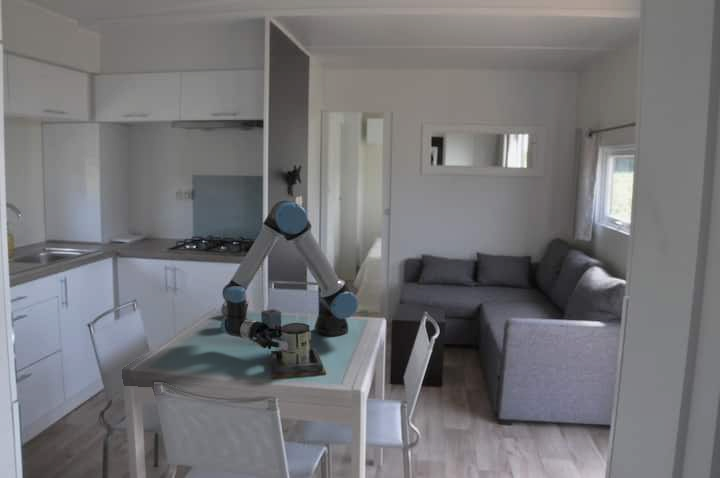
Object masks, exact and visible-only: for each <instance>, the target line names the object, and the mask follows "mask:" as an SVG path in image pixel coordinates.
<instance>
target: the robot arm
mask: <svg viewBox="0 0 720 478" xmlns="http://www.w3.org/2000/svg"><path fill="white" fill-rule="evenodd" d="M312 226H313V225H312V224H311V223H310V220H309V219H308V214H307V212H306V210H305V209H304V207H302V205H300V204H298V203H296V202H291V201H289V200H280V201H279V202H276V203H275V204H274V205H273V206H272V208H271V209H270V211H269V212H268V214H267V217H266V218H265V219H264V221H263V223H262V229H261V231H260V232H259V235H258V236H257V237H256V239H255V241H254V242H253V244H252V245H251V247H250V249H249V250H248V252H247V253H246V255H245V257H244V258H243V260H242V261H241V263H240V264H239V266H238V267H237V270H236V271H235V273H234V275H232V278H231V279H230V281H229V282H228V284H226V285H225V286H224V287H223V289H222V292H221V293H222V294H221V295H222V298H223V300H224V302H226V307H227V316H224V317H223V318H222V320H221V323H220V329H221V331H222V333H223V334H225V335H228V336H231V337H236V338H240V339H244V340H248V341H249V342H250V341H252V342H254V343H256V344H258V345H259V346H260V347H261V348H263V349H267V350H271V349H272V348H275V349H278V350H282V349H283V350H288V342H284V341H282V340H280V339H277V338H281V337H282V330H281V327H282V326H283V325H281V326H280V325H275V326H274V327H269V325H268V324H267V323H265V322H262V321H258V320H254V319H249V318H247V314H246V301H247V292H246V291H247V289H248V288H249V286H250V284H251V283H252V281H253V280H254V278H255V276H256V275H257V273H258V271H259V270H260V268H261V267H262V265H263V264H264V262H265V260H266V259H267V257H268V256H269V254H270V252H271V250H272V249H273V247H274V246H275V244H276V243H277V241H278V240H279V238H281V237H284V239H285V240H286V242H289V243H292V244H293V246H294V247H295V249H296V252H297V253H298V255H299V256H300V258H301V259H302V260H303V262H304V264H305V266H306V267H307V269H308V271H309V272H310V274H311V276H312V277H313V279H314V280H315V283H316V284H317V285H318V288H317V290H318V296H317V297H318V306H317V307H318V308H317V309H318V315H317V317H316V321H315V324H314V333H316V334H317V335H320V336H327V337H337V336H342V335H346V334H347V333H348V332H349V324H348V320H347V319H349V318H351V317H352V316H354V314H355V313H356V312H357V309H358V306H359V301H358V298H357V296H356V294H354V293H353V292H352V291H351V290H350V288H349V287H348V285H347V283H346V282H345V280H343V279H341V278H339V277H338V275H337V273H336V272H335V270H334V268H333V266H332V265H331V263H330V262H329V259H328V258H327V257H326V255H325V253H324V251H323V250H322V248H321V246H320V244H319V243H318V241H317V240H316V238H315V236H314V235H313V233H312ZM309 339H310V340H312V332H311V331H309Z"/></svg>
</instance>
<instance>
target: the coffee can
mask: <svg viewBox="0 0 720 478" xmlns="http://www.w3.org/2000/svg"><path fill="white" fill-rule="evenodd" d="M281 326H282V327H281V330H282V336H281V341H284V342H288V350H283V349H281V350H282V366H283V365H297V364H310V344H311V343H310V340H311V339H309V332H310V329H311V326H310V325H309V324H306V323H304V322H292V323H291V322H290V323H287V324H283V325H281Z"/></svg>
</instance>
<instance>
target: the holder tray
mask: <svg viewBox="0 0 720 478" xmlns="http://www.w3.org/2000/svg"><path fill="white" fill-rule="evenodd" d="M270 352H271V353H270V356H268V365H269V370H270V376H271V377H270V378H271V379H272V380H275V379H283V378H284V379H286V378H297V377H298V378H299V377H309V376H310V377H312V376H313V377H314V376H323V375H324V376H325V375H327V371H326V369H325V366H324V364H323V362H322V359H321V357H320V355H319V352H318V350H317V348H316V347H315V348H314V347H313V348H310V364H297V365H283V366H282V349H279V350H271V351H270Z"/></svg>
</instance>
